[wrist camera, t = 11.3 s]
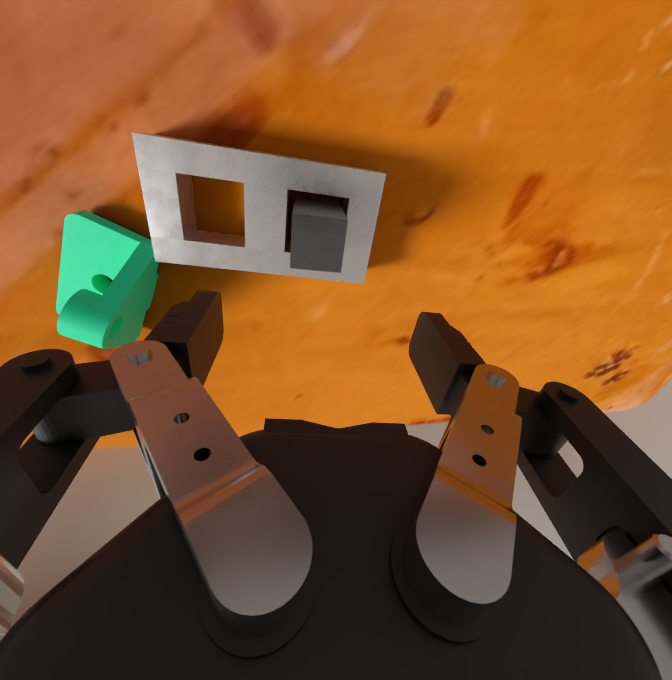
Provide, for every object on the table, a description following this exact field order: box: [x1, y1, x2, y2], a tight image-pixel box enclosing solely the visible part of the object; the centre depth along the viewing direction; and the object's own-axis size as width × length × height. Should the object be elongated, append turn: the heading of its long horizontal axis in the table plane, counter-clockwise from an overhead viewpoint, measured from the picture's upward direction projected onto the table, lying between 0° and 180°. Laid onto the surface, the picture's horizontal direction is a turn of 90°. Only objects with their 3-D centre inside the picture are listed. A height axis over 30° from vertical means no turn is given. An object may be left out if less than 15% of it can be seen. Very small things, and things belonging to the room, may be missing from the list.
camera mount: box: [56, 211, 159, 349], centre depth 28 cm, size 12×8×10 cm, turn 151°
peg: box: [290, 194, 348, 273], centre depth 27 cm, size 4×4×10 cm
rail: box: [132, 133, 386, 284], centre depth 28 cm, size 10×20×4 cm, turn 82°
